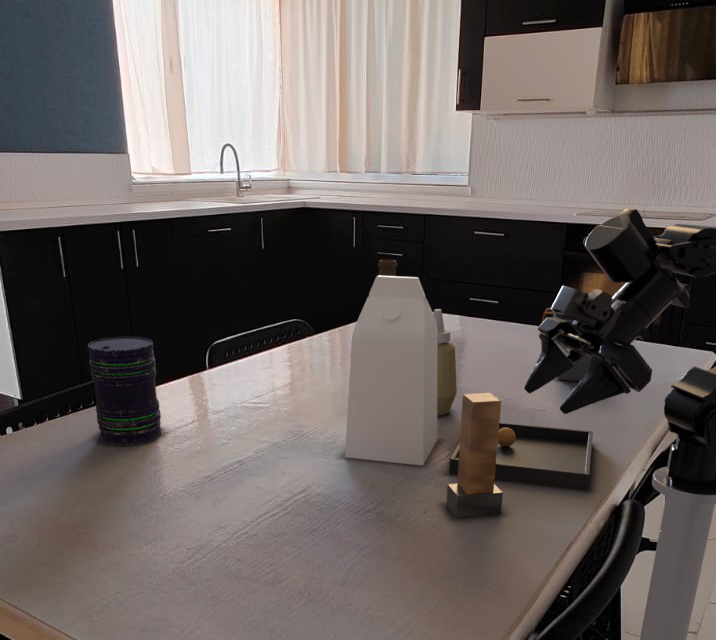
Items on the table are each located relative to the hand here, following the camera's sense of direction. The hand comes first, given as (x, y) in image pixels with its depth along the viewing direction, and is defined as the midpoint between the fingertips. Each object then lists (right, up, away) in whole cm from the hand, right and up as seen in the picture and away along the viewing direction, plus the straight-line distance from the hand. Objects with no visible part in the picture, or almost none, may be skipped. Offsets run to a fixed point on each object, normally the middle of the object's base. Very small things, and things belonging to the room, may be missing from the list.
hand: (543, 400), depth 97 cm
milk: (-18, -5, +23) cm, 29 cm away
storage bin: (+23, +14, +67) cm, 72 cm away
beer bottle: (-18, +10, +57) cm, 61 cm away
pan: (+2, -6, +19) cm, 20 cm away
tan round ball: (-1, -3, +22) cm, 22 cm away
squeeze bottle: (-10, +3, +41) cm, 42 cm away
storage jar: (-60, -2, +28) cm, 66 cm away
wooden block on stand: (-9, -14, +2) cm, 16 cm away
